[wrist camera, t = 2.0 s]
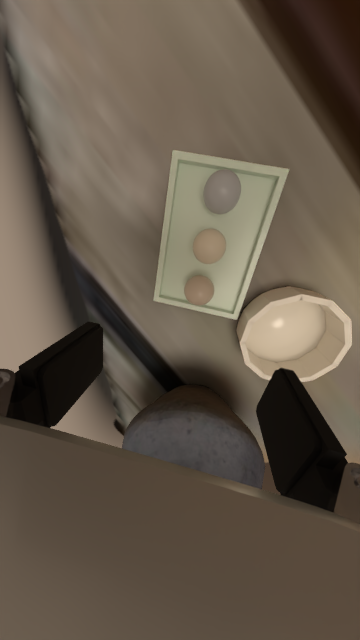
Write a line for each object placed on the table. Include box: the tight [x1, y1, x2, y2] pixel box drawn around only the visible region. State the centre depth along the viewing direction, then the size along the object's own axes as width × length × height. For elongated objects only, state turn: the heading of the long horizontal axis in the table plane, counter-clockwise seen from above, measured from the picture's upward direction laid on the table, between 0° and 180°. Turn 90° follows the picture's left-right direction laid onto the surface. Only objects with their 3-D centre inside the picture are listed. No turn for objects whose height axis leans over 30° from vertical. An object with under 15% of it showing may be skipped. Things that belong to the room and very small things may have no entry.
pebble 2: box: [193, 228, 226, 264], centre depth 22 cm, size 4×4×4 cm
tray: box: [154, 150, 289, 320], centre depth 24 cm, size 17×12×2 cm
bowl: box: [236, 286, 352, 382], centre depth 25 cm, size 12×12×4 cm
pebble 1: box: [203, 169, 241, 214], centre depth 20 cm, size 4×4×4 cm
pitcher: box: [122, 384, 265, 489], centre depth 24 cm, size 21×22×25 cm
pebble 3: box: [184, 275, 214, 306], centre depth 24 cm, size 4×4×4 cm
